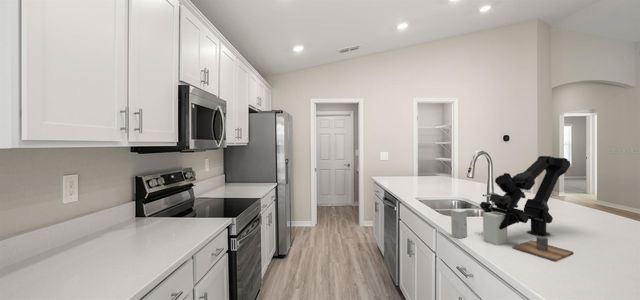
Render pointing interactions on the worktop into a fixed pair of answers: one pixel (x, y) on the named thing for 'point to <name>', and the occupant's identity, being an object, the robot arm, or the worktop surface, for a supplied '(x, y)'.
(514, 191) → the robot arm
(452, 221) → the skincare box
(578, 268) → the worktop surface
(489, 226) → the pale green box
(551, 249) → the flat brown board
